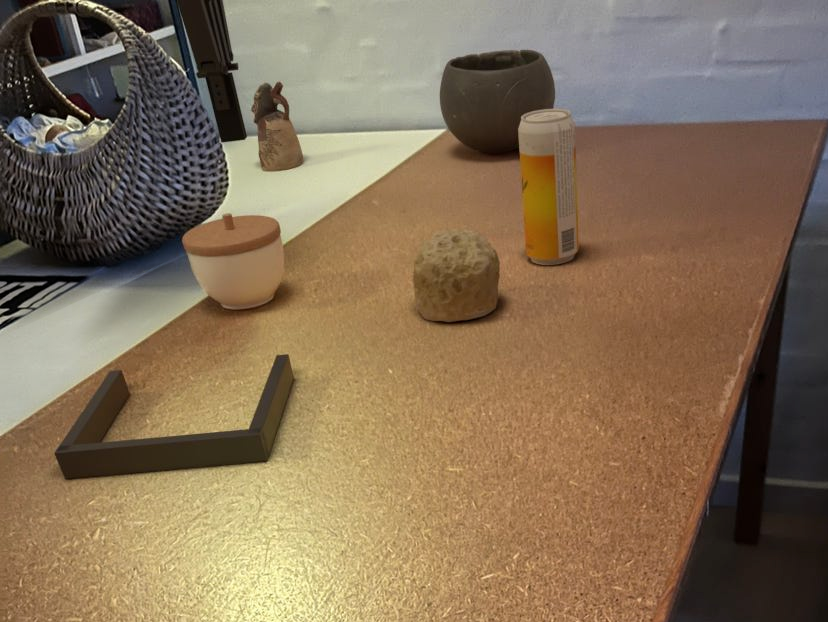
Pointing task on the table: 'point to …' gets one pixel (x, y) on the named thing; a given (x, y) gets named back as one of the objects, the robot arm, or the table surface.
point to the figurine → (275, 130)
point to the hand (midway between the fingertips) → (234, 139)
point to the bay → (172, 452)
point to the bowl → (494, 96)
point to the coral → (456, 276)
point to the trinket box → (237, 259)
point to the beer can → (549, 185)
